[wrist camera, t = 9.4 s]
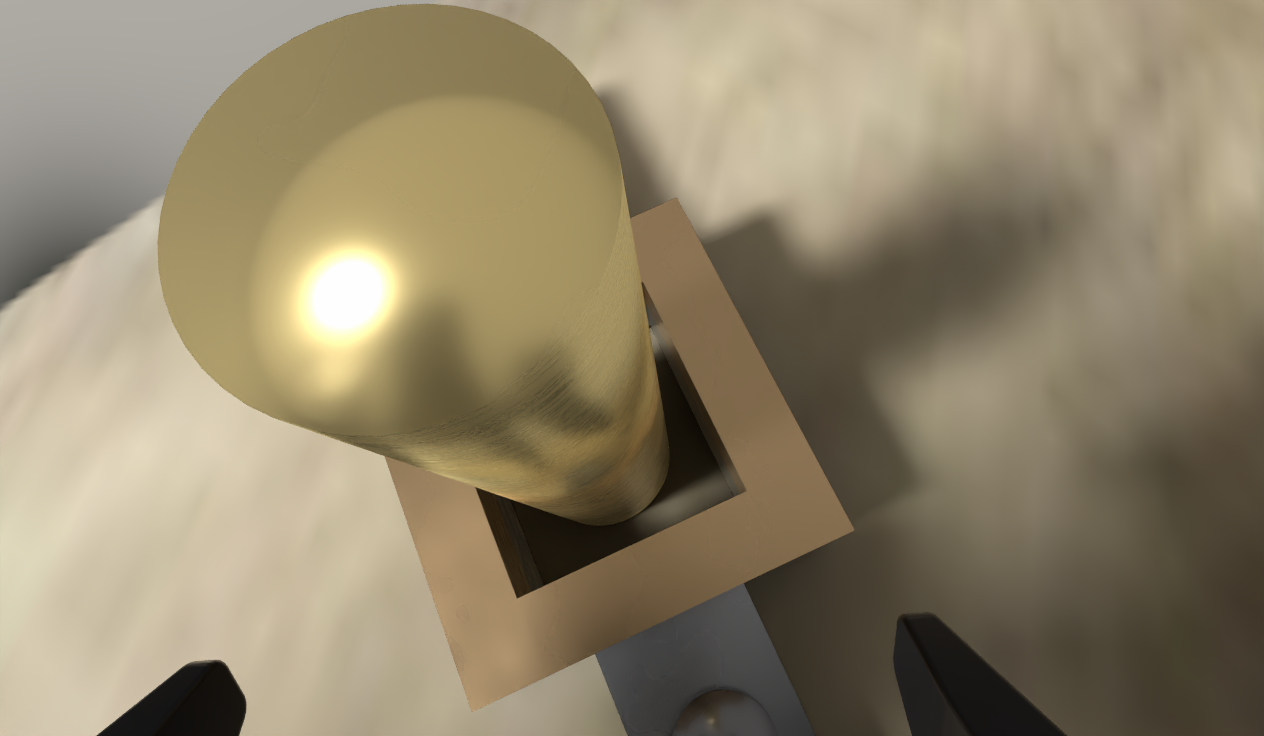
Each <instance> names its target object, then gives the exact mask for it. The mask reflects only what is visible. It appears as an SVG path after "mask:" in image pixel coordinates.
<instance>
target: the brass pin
mask: <svg viewBox="0 0 1264 736" xmlns="http://www.w3.org/2000/svg"><path fill="white" fill-rule="evenodd" d="M158 267H159V274H160V280H161V285H162V291H163V296H164V299H165V302H166V305H167V308H168V311H169V314H170V317H171V320H172V322H173V324H174V326H175V328H176V330H177V332H178V334H179V335H180V337H181V339H182V341H183V343H184V345H185V347H186V348H187V349H188V351H189V352H190V353H191V355H192V356H193V357H194V358H195V360H196V361H197V362H198V364H199V365H200V366H201V368H202V369H203V370H204V371H205V372H206V373H207V374H208V375H209V376H210V377H211V378H213V379H214V380H215V381H216V382H217V383H218V384H219V385H220V386H221V387H222V388H223V389H225V390H226V391H227V392H229V393H230V394H232V395H233V396H235V397H236V398H238V399H239V400H240V401H242V402H243V403H245V404H246V405H248V406H250V407H252V408H254V409H256V410H258V411H260V412H263V413H265V414H267V415H269V416H271V417H273V418H275V419H278V420H281V421H284V422H287V423H290V424H293V425H296V426H299V427H302V428H305V429H307V430H310V431H313V432H316V433H319V434H322V435H325V436H328V437H331V438H334V439H337V440H340V441H342V442H345V443H348V444H351V445H354V446H357V447H360V448H363V449H366V450H369V451H372V452H375V453H377V454H380V455H383V456H386V457H389V458H392V459H395V460H398V461H401V462H404V463H407V464H410V465H412V466H415V467H418V468H421V469H424V470H427V471H430V472H433V473H436V474H439V475H442V476H445V477H447V478H450V479H453V480H456V481H459V482H462V483H465V484H468V485H471V486H474V487H477V488H479V489H482V490H485V491H488V492H491V493H494V494H497V495H500V496H503V497H506V498H509V499H512V500H514V501H517V502H520V503H523V504H526V505H529V506H532V507H535V508H538V509H541V510H544V511H547V512H549V513H552V514H555V515H558V516H561V517H564V518H567V519H570V520H573V521H576V522H579V523H582V524H588V525H600V526H602V525H611V524H615V523H619V522H622V521H625V520H627V519H629V518H631V517H633V516H635V515H637V514H638V513H639V512H641V511H642V510H643V509H645V508H646V507H647V506H648V505H649V504H650V503H651V502H652V501H653V499H654V498H655V497H656V496H657V494H658V493H659V491H660V489H661V488H662V486H663V483H664V481H665V479H666V475H667V472H668V468H669V461H670V449H669V441H668V435H667V429H666V423H665V417H664V412H663V406H662V400H661V394H660V389H659V383H658V377H657V371H656V365H655V360H654V354H653V348H652V342H651V336H650V331H649V325H648V319H647V313H646V308H645V302H644V296H643V290H642V284H641V279H640V273H639V267H638V261H637V255H636V250H635V244H634V238H633V232H632V227H631V221H630V215H629V209H628V203H627V198H626V192H625V186H624V180H623V174H622V169H621V163H620V157H619V152H618V148H617V145H616V141H615V137H614V133H613V129H612V126H611V124H610V122H609V119H608V117H607V115H606V112H605V110H604V108H603V105H602V103H601V102H600V100H599V99H598V97H597V95H596V94H595V92H594V90H593V89H592V87H591V86H590V84H589V82H588V81H587V80H586V79H585V78H584V76H583V75H582V74H581V73H580V72H579V70H578V69H577V68H576V67H575V66H574V65H573V63H572V62H571V61H570V60H568V59H567V58H566V57H565V56H564V55H563V54H562V53H560V52H559V51H558V50H557V49H556V48H555V47H554V46H552V45H551V44H550V43H548V42H547V41H545V40H544V39H542V38H541V37H539V36H537V35H536V34H534V33H533V32H531V31H530V30H528V29H526V28H523V27H521V26H519V25H517V24H515V23H513V22H511V21H509V20H507V19H504V18H501V17H498V16H495V15H492V14H488V13H485V12H482V11H478V10H473V9H468V8H463V7H458V6H449V5H436V4H412V5H397V6H390V7H383V8H376V9H370V10H366V11H363V12H359V13H355V14H351V15H347V16H344V17H341V18H338V19H335V20H333V21H330V22H327V23H325V24H322V25H319V26H317V27H315V28H313V29H311V30H309V31H307V32H305V33H303V34H301V35H299V36H297V37H294V38H293V39H291V40H289V41H288V42H286V43H284V44H283V45H281V46H280V47H278V48H276V49H275V50H274V51H272V52H270V53H268V54H267V55H266V56H264V57H263V58H262V59H261V60H259V61H258V62H257V63H255V64H254V65H253V66H251V67H250V68H249V69H248V70H246V71H245V72H244V73H243V74H242V75H241V76H240V77H239V78H238V79H237V80H236V81H235V82H234V83H233V84H231V85H230V86H229V87H228V88H227V89H226V90H225V91H224V92H223V94H222V95H221V96H220V97H219V98H218V99H217V101H216V102H215V103H214V104H213V105H212V106H211V108H210V109H209V110H208V111H207V112H206V114H205V115H204V117H203V118H202V120H201V121H200V123H199V124H198V126H197V127H196V128H195V130H194V131H193V133H192V134H191V136H190V138H189V140H188V141H187V143H186V145H185V147H184V149H183V151H182V153H181V155H180V157H179V159H178V161H177V163H176V166H175V168H174V171H173V173H172V176H171V179H170V182H169V184H168V187H167V190H166V194H165V198H164V202H163V207H162V211H161V215H160V225H159V234H158Z"/></svg>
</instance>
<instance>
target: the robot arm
mask: <svg viewBox="0 0 1264 736" xmlns="http://www.w3.org/2000/svg"><path fill="white" fill-rule="evenodd" d="M893 660H894V669H895V674H896V678H897V682H898V686H899V689H900V693H901V697H902V700H903V704H904V708H905V711H906V715H907V719H908V722H909V726H910V730H911V733H912V736H1067V735H1066V734H1065V733H1064V732H1063V731H1061V730H1060V729H1059V728H1058V727H1057V726H1056V725H1055V724H1054V723H1053V722H1052V721H1051V720H1049V719H1048V718H1047V717H1046V716H1045V715H1044V714H1043V713H1042V712H1041V711H1040V710H1039V709H1037V708H1036V707H1035V706H1034V705H1033V704H1032V703H1031V702H1030V701H1029V700H1028V699H1027V698H1025V697H1024V696H1023V695H1022V694H1021V693H1020V692H1019V691H1018V690H1017V689H1016V688H1015V687H1014V686H1012V685H1011V684H1010V683H1009V682H1008V681H1007V680H1006V679H1005V678H1004V677H1003V676H1002V675H1000V674H999V673H998V672H997V671H996V670H995V669H994V668H993V667H992V666H991V665H990V664H988V663H987V662H986V661H985V660H984V659H983V658H982V657H981V656H980V655H979V654H978V653H976V652H975V651H974V650H973V649H972V648H971V647H970V646H969V645H968V644H967V643H966V642H965V641H963V640H962V639H961V638H960V637H959V636H958V635H957V634H956V633H955V632H954V631H953V630H951V629H950V628H949V627H948V626H947V625H946V624H945V623H944V622H943V621H942V620H941V619H939V618H938V617H937V616H936V615H934V614H932V613H929V612H922V613H907V614H902V615H900V616H899V618H898V621H897V628H896V637H895V647H894V657H893ZM245 714H246V699H245V696H244V694H243V692H242V690H241V689H240V687H239V685H238V684H237V682H236V680H235V678H234V677H233V675H232V673H231V671H230V670H229V668H228V666H227V665H226V664H225V663H224V662H222V661H221V660H206V661H195V662H191V663H188V664H186V665H185V666H183V667H182V668H181V669H179V670H178V671H177V672H176V673H174V674H173V675H172V676H171V677H169V678H168V679H167V680H166V681H164V682H163V683H162V684H161V685H159V686H158V687H157V688H156V689H154V690H153V691H152V692H151V693H149V694H148V695H147V696H146V697H144V698H143V699H142V700H141V701H139V702H138V703H137V704H136V705H134V706H133V707H132V708H131V709H129V710H128V711H127V712H126V713H124V714H123V715H122V716H120V717H119V718H118V719H117V720H115V721H114V722H113V723H112V724H110V725H109V726H108V727H107V728H105V729H104V730H103V731H102V732H100V733H99V734H98V735H97V736H239V734H240V731H241V728H242V725H243V722H244V719H245Z"/></svg>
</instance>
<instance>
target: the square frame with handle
mask: <svg viewBox="0 0 1264 736" xmlns="http://www.w3.org/2000/svg"><path fill="white" fill-rule="evenodd" d="M630 221H631V227H632V232H633V238H634V244H635V250H636V255H637V261H638V267H639V273H640V279H641V284H642V290H643V296H644V302H645V308H646V313H647V319H648V325H649V326H651V328H652V330H653V332H654V334H655V336H656V338H657V340H658V342H659V344H660V346H661V348H662V350H663V352H664V355H665V357H666V359H667V361H668V363H669V365H670V367H671V369H672V371H673V373H674V375H675V377H676V379H677V381H678V383H679V385H680V387H681V389H682V391H683V393H684V395H685V397H686V399H687V401H688V404H689V406H690V408H691V410H692V412H693V414H694V416H695V418H696V420H697V422H698V424H699V426H700V428H701V430H702V432H703V434H704V436H705V438H706V440H707V442H708V444H709V446H710V448H711V450H712V453H713V455H714V457H715V459H716V461H717V463H718V465H719V467H720V469H721V471H722V473H723V475H724V477H725V479H726V481H727V483H728V485H729V487H730V489H731V491H732V493H733V495H734V497H733V498H731V499H729V500H727V501H724V502H722V503H720V504H718V505H716V506H714V507H712V508H709V509H707V510H705V511H703V512H701V513H699V514H697V515H695V516H692V517H690V518H688V519H686V520H684V521H682V522H680V523H677V524H675V525H673V526H671V527H669V528H667V529H665V530H663V531H660V532H658V533H656V534H654V535H652V536H650V537H648V538H645V539H643V540H641V541H639V542H637V543H635V544H633V545H631V546H628V547H626V548H624V549H622V550H620V551H618V552H616V553H613V554H611V555H609V556H607V557H605V558H603V559H601V560H598V561H596V562H594V563H592V564H590V565H588V566H586V567H584V568H581V569H579V570H577V571H575V572H573V573H571V574H569V575H566V576H564V577H562V578H560V579H558V580H556V581H554V582H552V583H549V584H547V585H545V586H544V585H543V582H542V580H541V577H540V575H539V572H538V569H537V567H536V564H535V562H534V559H533V557H532V554H531V552H530V549H529V546H528V544H527V541H526V539H525V536H524V534H523V531H522V528H521V526H520V523H519V521H518V518H517V516H516V513H515V510H514V508H513V505H512V503H511V500H510V499H509V498H506V497H503V496H500V495H497V494H494V493H491V492H488V491H485V490H482V489H479V488H477V487H474V486H471V485H468V484H465V483H462V482H459V481H456V480H453V479H450V478H447V477H445V476H442V475H439V474H436V473H433V472H430V471H427V470H424V469H421V468H418V467H415V466H412V465H410V464H407V463H404V462H401V461H398V460H395V459H392V458H389V457H386V456H385V458H386V461H387V464H388V467H389V470H390V473H391V476H392V479H393V482H394V485H395V488H396V491H397V494H398V497H399V500H400V503H401V505H402V508H403V511H404V514H405V517H406V520H407V523H408V526H409V529H410V532H411V535H412V538H413V541H414V544H415V547H416V550H417V552H418V555H419V558H420V561H421V564H422V567H423V570H424V573H425V576H426V579H427V582H428V585H429V588H430V591H431V594H432V596H433V599H434V602H435V605H436V608H437V611H438V614H439V617H440V620H441V623H442V626H443V629H444V632H445V635H446V638H447V641H448V643H449V646H450V649H451V652H452V655H453V658H454V661H455V664H456V667H457V670H458V673H459V676H460V679H461V682H462V685H463V688H464V690H465V693H466V696H467V699H468V702H469V705H470V708H471V711H472V712H473V711H475V710H477V709H479V708H482V707H484V706H486V705H488V704H490V703H492V702H494V701H496V700H498V699H500V698H503V697H505V696H507V695H509V694H511V693H513V692H515V691H517V690H519V689H522V688H524V687H526V686H528V685H530V684H532V683H534V682H536V681H538V680H541V679H543V678H545V677H547V676H549V675H551V674H553V673H555V672H557V671H559V670H562V669H564V668H566V667H568V666H570V665H572V664H574V663H576V662H578V661H581V660H583V659H585V658H587V657H589V656H591V655H593V654H595V655H596V657H597V660H598V662H599V665H600V667H601V670H602V672H603V675H604V677H605V680H606V682H607V685H608V687H609V690H610V692H611V695H612V697H613V700H614V702H615V705H616V707H617V710H618V712H619V715H620V717H621V720H622V722H623V725H624V727H625V730H626V732H627V735H628V736H816V734H815V732H814V730H813V728H812V726H811V724H810V722H809V720H808V717H807V715H806V713H805V711H804V709H803V707H802V705H801V703H800V701H799V699H798V696H797V694H796V692H795V690H794V688H793V686H792V684H791V682H790V680H789V678H788V675H787V673H786V671H785V669H784V667H783V665H782V663H781V661H780V659H779V657H778V654H777V652H776V650H775V648H774V646H773V644H772V642H771V640H770V638H769V636H768V633H767V631H766V629H765V627H764V625H763V623H762V621H761V619H760V617H759V614H758V612H757V610H756V608H755V606H754V604H753V602H752V600H751V598H750V596H749V593H748V591H747V589H746V587H745V585H744V583H745V582H747V581H749V580H751V579H753V578H755V577H758V576H760V575H762V574H764V573H766V572H768V571H770V570H772V569H774V568H777V567H779V566H781V565H783V564H785V563H787V562H789V561H791V560H793V559H795V558H798V557H800V556H802V555H804V554H806V553H808V552H810V551H812V550H814V549H817V548H819V547H821V546H823V545H825V544H827V543H829V542H831V541H833V540H836V539H838V538H840V537H842V536H844V535H846V534H848V533H850V532H852V531H854V528H853V526H852V524H851V522H850V520H849V519H848V517H847V515H846V513H845V511H844V509H843V507H842V506H841V504H840V502H839V500H838V498H837V496H836V494H835V492H834V491H833V489H832V487H831V485H830V483H829V481H828V479H827V478H826V476H825V474H824V472H823V470H822V468H821V466H820V464H819V463H818V461H817V459H816V457H815V455H814V453H813V451H812V450H811V448H810V446H809V444H808V442H807V440H806V438H805V436H804V435H803V433H802V431H801V429H800V427H799V425H798V423H797V422H796V420H795V418H794V416H793V414H792V412H791V410H790V408H789V407H788V405H787V403H786V401H785V399H784V397H783V395H782V394H781V392H780V390H779V388H778V386H777V384H776V382H775V380H774V379H773V377H772V375H771V373H770V371H769V369H768V367H767V366H766V364H765V362H764V360H763V358H762V356H761V354H760V352H759V351H758V349H757V347H756V345H755V343H754V341H753V339H752V337H751V336H750V334H749V332H748V330H747V328H746V326H745V324H744V323H743V321H742V319H741V317H740V315H739V313H738V311H737V309H736V308H735V306H734V304H733V302H732V300H731V298H730V296H729V295H728V293H727V291H726V289H725V287H724V285H723V283H722V281H721V280H720V278H719V276H718V274H717V272H716V270H715V268H714V267H713V265H712V263H711V261H710V259H709V257H708V255H707V253H706V252H705V250H704V248H703V246H702V244H701V242H700V240H699V239H698V237H697V235H696V233H695V231H694V229H693V227H692V225H691V224H690V222H689V220H688V218H687V216H686V214H685V212H684V211H683V209H682V207H681V205H680V203H679V201H678V199H677V198H674V199H672V200H670V201H668V202H665V203H663V204H661V205H659V206H656V207H654V208H652V209H650V210H648V211H645V212H643V213H641V214H639V215H636V216H634V217H632V218H630Z"/></svg>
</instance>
